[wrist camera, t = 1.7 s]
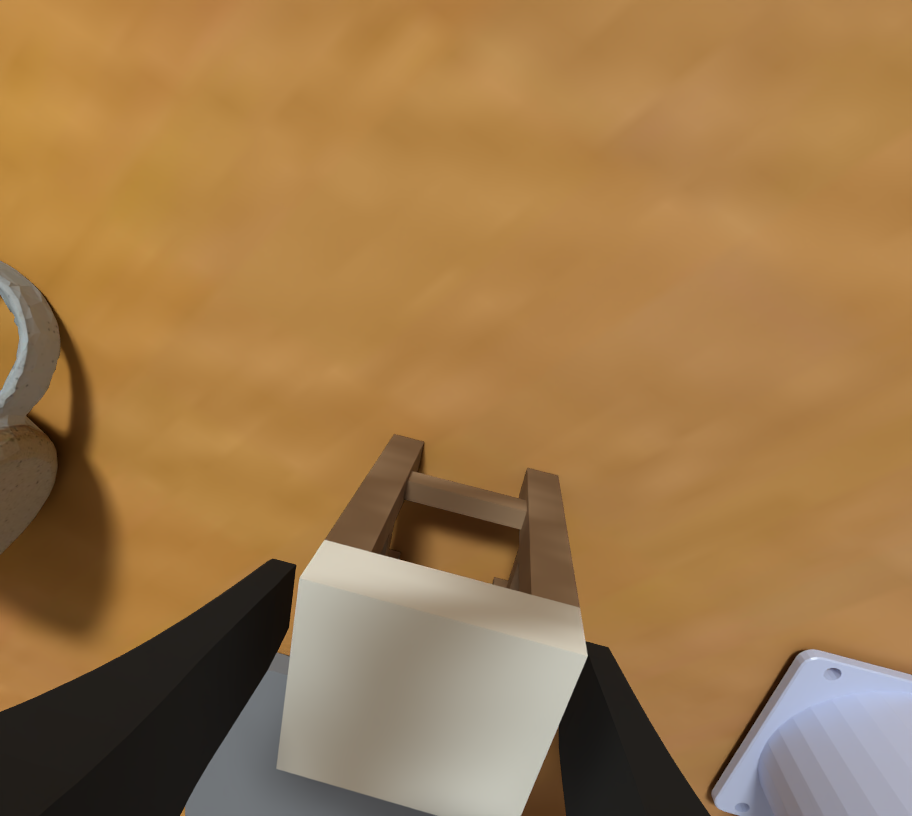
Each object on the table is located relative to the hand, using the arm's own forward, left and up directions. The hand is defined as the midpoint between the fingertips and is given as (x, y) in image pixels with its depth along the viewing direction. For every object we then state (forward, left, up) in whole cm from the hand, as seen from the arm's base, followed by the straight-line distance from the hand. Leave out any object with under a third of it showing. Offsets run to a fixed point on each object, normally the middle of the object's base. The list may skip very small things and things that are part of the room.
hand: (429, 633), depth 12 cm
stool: (0, 0, -5) cm, 5 cm away
